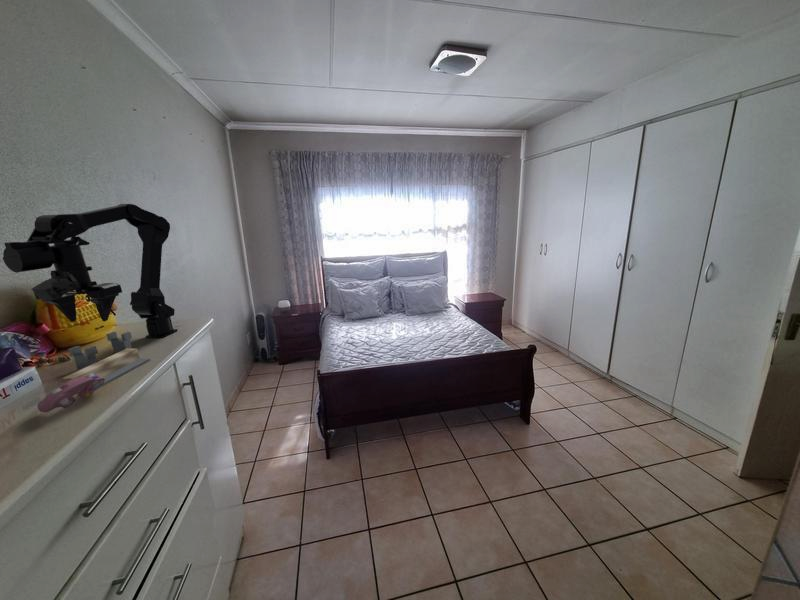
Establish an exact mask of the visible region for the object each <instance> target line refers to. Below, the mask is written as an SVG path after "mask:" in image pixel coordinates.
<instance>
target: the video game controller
mask: <svg viewBox="0 0 800 600" xmlns="http://www.w3.org/2000/svg"><path fill="white" fill-rule="evenodd" d="M104 381H105V379H104V378H103V377H101V376H99V375H96V374H93V373H91V374H89V375H88V376H83V377H79V378H75V379H72V380H70V381H68V382H66V383H65V384H64V383H63V385H60V386H59V387H58V388H55V389H53V390H52V391H51V392H49V393H48V394H47V395H46V396H45V397H44V398H43V399H42V400H40V401H39V402H38V403H37V410H38V411H39V412H41V413H49V412H51V411H53V410H55V409H57V408H62V409H68V408H70V407H71V406H74V404H75V403H76V401H77V399H76V398H75V397H74V396H75V395H77V397H78V398H79V399H81V400H85V399H87V398H89V397H90V396H92V395H93V393H94V392H95V391H96V390H98V389H100V388H101V387H100V386H101V385H102V384H103V383H104ZM99 387H100V388H99ZM97 388H98V389H97Z"/></svg>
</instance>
